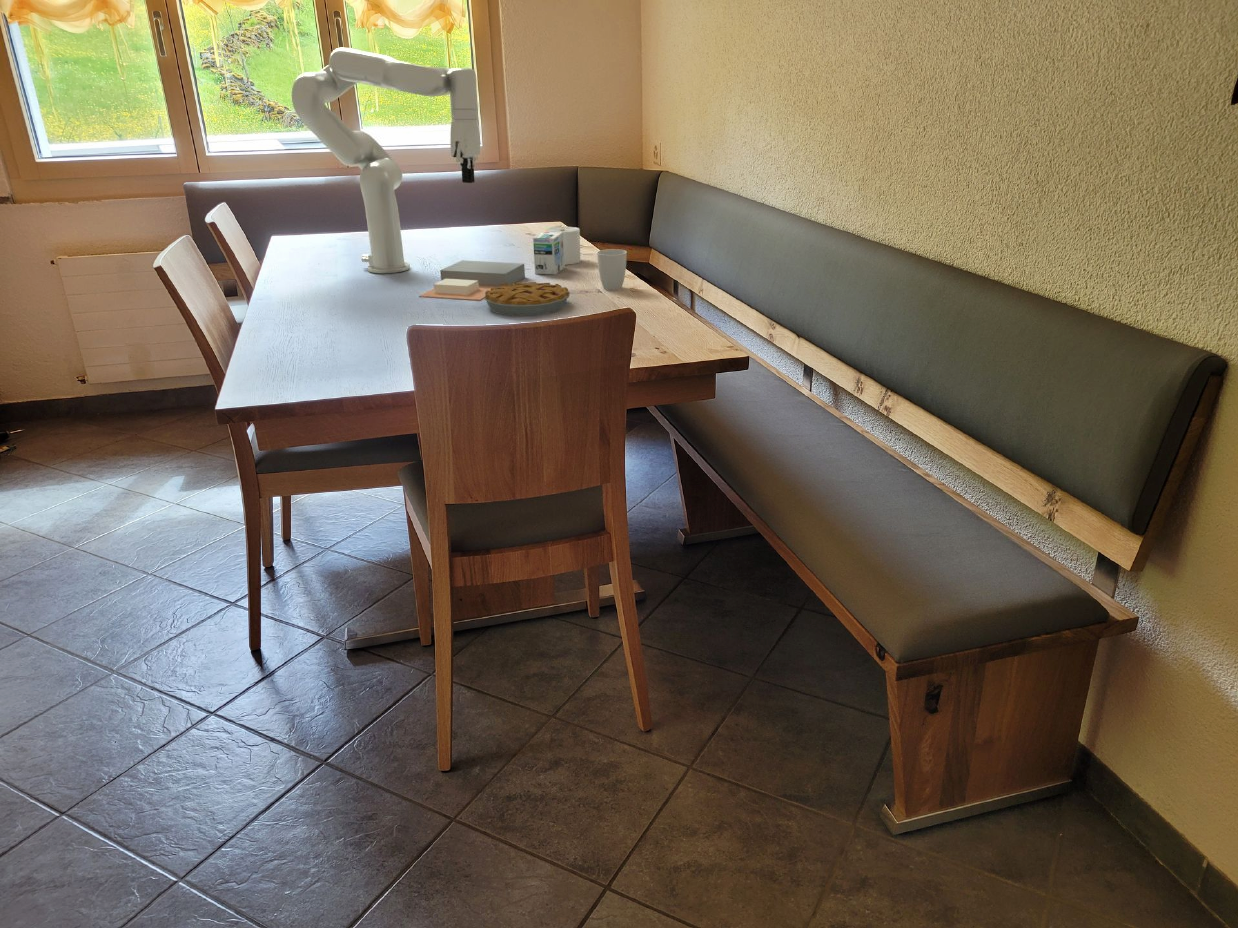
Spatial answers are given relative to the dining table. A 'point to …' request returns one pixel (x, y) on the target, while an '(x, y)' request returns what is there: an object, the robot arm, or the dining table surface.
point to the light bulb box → (548, 253)
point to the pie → (526, 298)
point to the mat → (475, 295)
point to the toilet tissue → (569, 243)
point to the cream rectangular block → (456, 286)
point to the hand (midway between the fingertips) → (468, 182)
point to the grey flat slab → (485, 272)
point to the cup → (612, 268)
